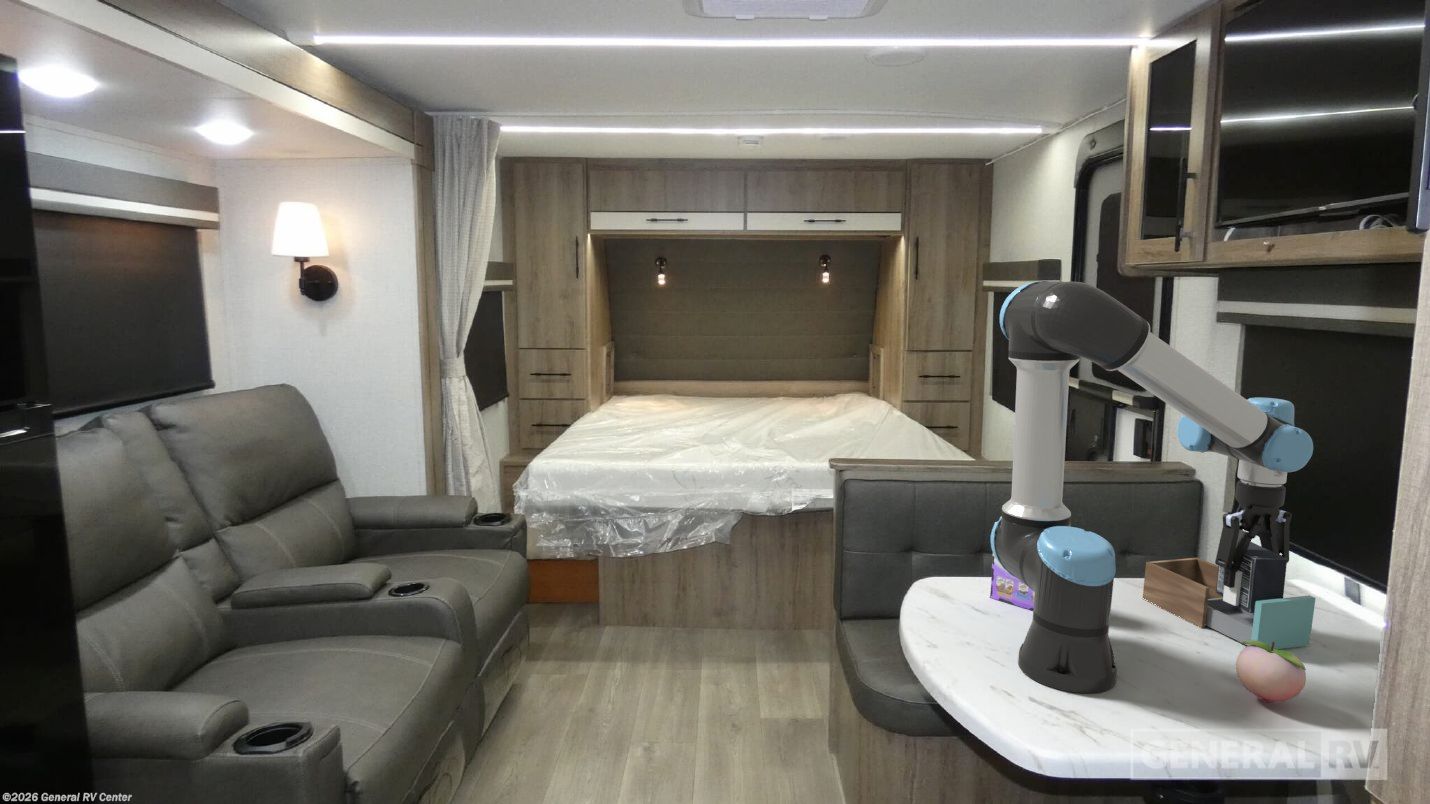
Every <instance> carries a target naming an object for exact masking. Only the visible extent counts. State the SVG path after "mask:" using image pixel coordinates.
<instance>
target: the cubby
mask: <svg viewBox="0 0 1430 804" xmlns="http://www.w3.org/2000/svg"><path fill="white" fill-rule="evenodd" d="M1144 571H1145V572H1144V579H1143V589H1142V599H1143V598H1144V599H1146V600H1148V601H1150V602H1152V603H1153V604H1152V603H1151V604H1152V605H1154V604H1156V605H1157V606H1156V605H1155V606H1156V607H1158V606H1159V607H1158V608H1160V607H1161V608H1160V609H1162V610H1164V609H1166V610H1167V611H1166V610H1165V611H1166V612H1168V611H1169V612H1168V613H1170V612H1171V613H1170V614H1172V615H1174V614H1175V615H1174V616H1176V615H1177V616H1176V617H1178V616H1180V617H1181V619H1182V618H1183V619H1182V620H1184V619H1185V620H1184V621H1186V622H1188V621H1189V622H1188V623H1190V624H1192V623H1193V624H1192V625H1194V626H1196V625H1197V626H1196V627H1198V626H1199V627H1198V628H1201V629H1204V628H1205V629H1206V625H1205V623H1206V614H1207V605H1208V599H1214V598H1223V597H1222V596H1220V595H1219V594H1217V593H1216V584H1217V576H1218V565H1216V564H1214V563H1212V562H1209V561H1206V560H1204V559H1202V558H1200V557H1189V558H1188V557H1187V558H1178V559H1175V558H1174V559H1166V560H1154V561H1146V562H1145V570H1144ZM1144 599H1143V600H1144ZM1146 600H1145V601H1146ZM1148 601H1147V602H1148ZM1150 602H1149V603H1150ZM1180 617H1179V618H1180Z"/></svg>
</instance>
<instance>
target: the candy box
mask: <svg viewBox="0 0 1430 804" xmlns="http://www.w3.org/2000/svg"><path fill="white" fill-rule="evenodd" d="M996 522H997V521H995V522H994V524H995V523H996ZM1034 596H1035V592H1034V591H1033V590H1032V589H1030V588H1029V587H1028V586H1027V585H1025V584H1024V583H1023V582H1021V581H1020V580H1019V579H1018V578H1016V577H1014V576H1013V575H1011V574H1010V573H1008V571H1007V570H1005V569H1004V568H1003V567H1002V565H1001V564H1000V563H999V562H998V560H997V559H996V558H995V556H994V554H993V553H992V564H991V581H990V594H989V598H990V599H993V600H996V601H1000V602H1003V603H1007V604H1010V605H1013V606H1016V607H1020V608H1023V609H1027V610H1030V611H1033V608H1034Z"/></svg>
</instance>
